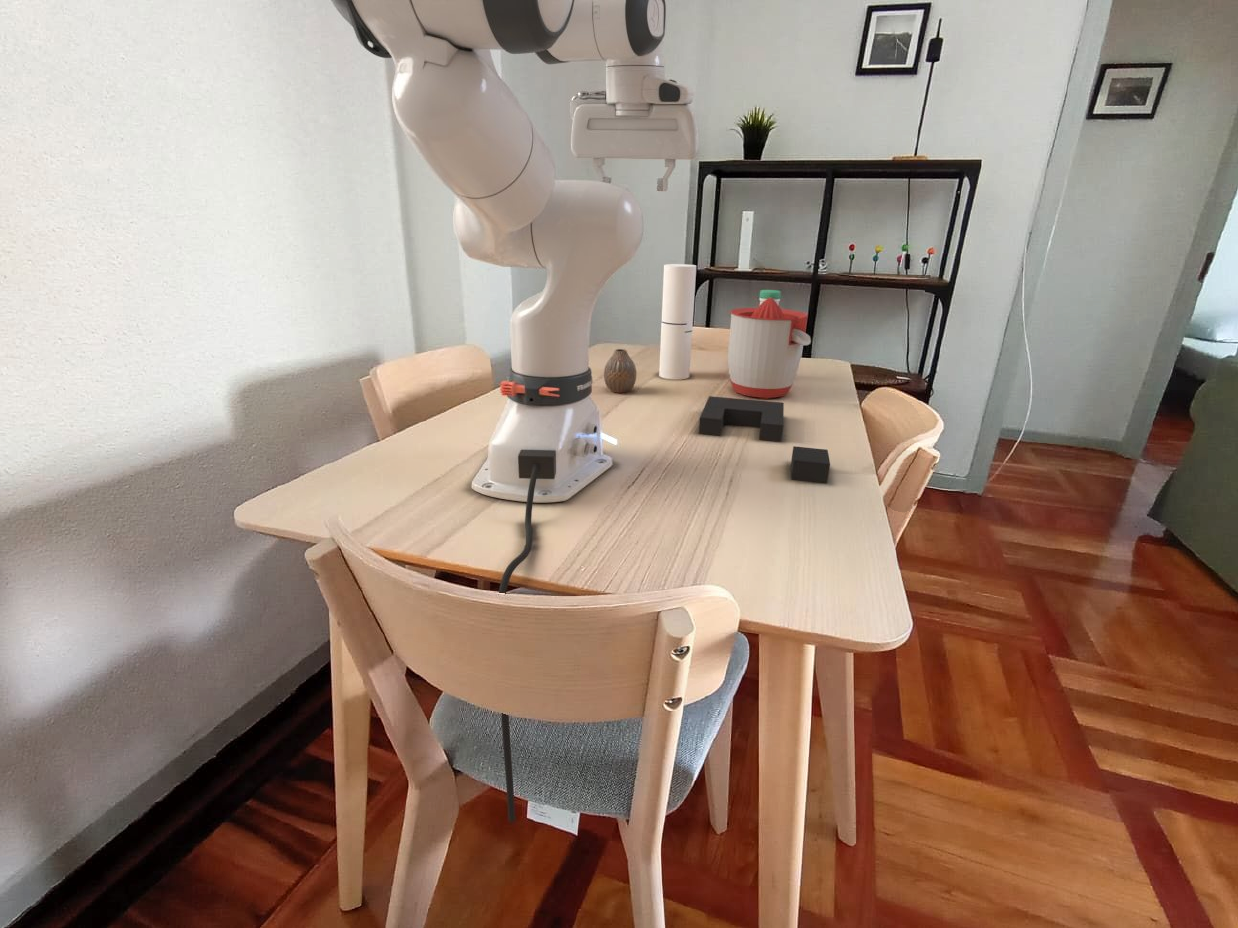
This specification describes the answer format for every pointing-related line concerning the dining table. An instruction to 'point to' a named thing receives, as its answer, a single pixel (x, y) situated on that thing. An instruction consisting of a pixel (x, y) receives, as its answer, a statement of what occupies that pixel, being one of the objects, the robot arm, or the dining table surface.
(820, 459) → the small block
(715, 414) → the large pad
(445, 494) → the dining table surface
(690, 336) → the cylindrical container
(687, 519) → the dining table surface
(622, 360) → the vase
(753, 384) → the citrus juicer
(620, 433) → the dining table surface
